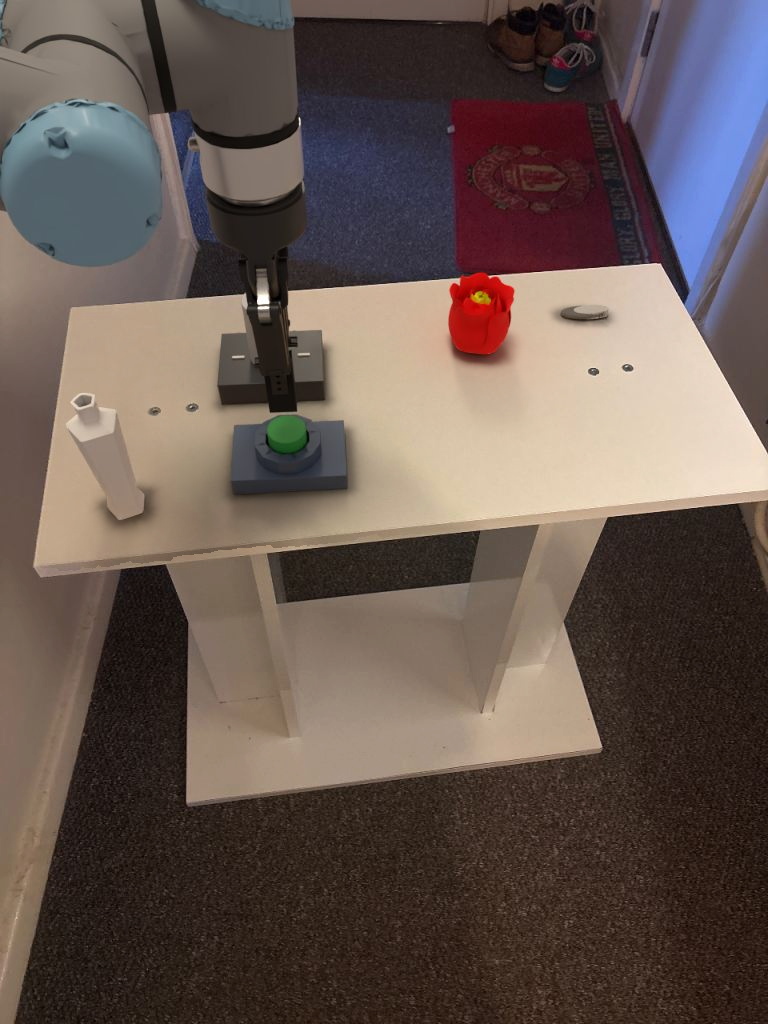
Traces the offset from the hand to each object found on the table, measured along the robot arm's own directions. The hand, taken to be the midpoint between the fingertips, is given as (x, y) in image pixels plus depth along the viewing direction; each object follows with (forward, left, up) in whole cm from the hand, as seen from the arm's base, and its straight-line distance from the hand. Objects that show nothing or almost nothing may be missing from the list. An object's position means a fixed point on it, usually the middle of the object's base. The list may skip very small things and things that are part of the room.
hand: (283, 406), depth 75 cm
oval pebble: (+38, +23, -9) cm, 45 cm away
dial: (-2, +14, -6) cm, 15 cm away
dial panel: (-2, +14, -9) cm, 17 cm away
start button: (0, 0, -5) cm, 5 cm away
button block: (0, 0, -9) cm, 9 cm away
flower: (+23, +18, -9) cm, 31 cm away
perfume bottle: (-17, -5, -9) cm, 20 cm away
